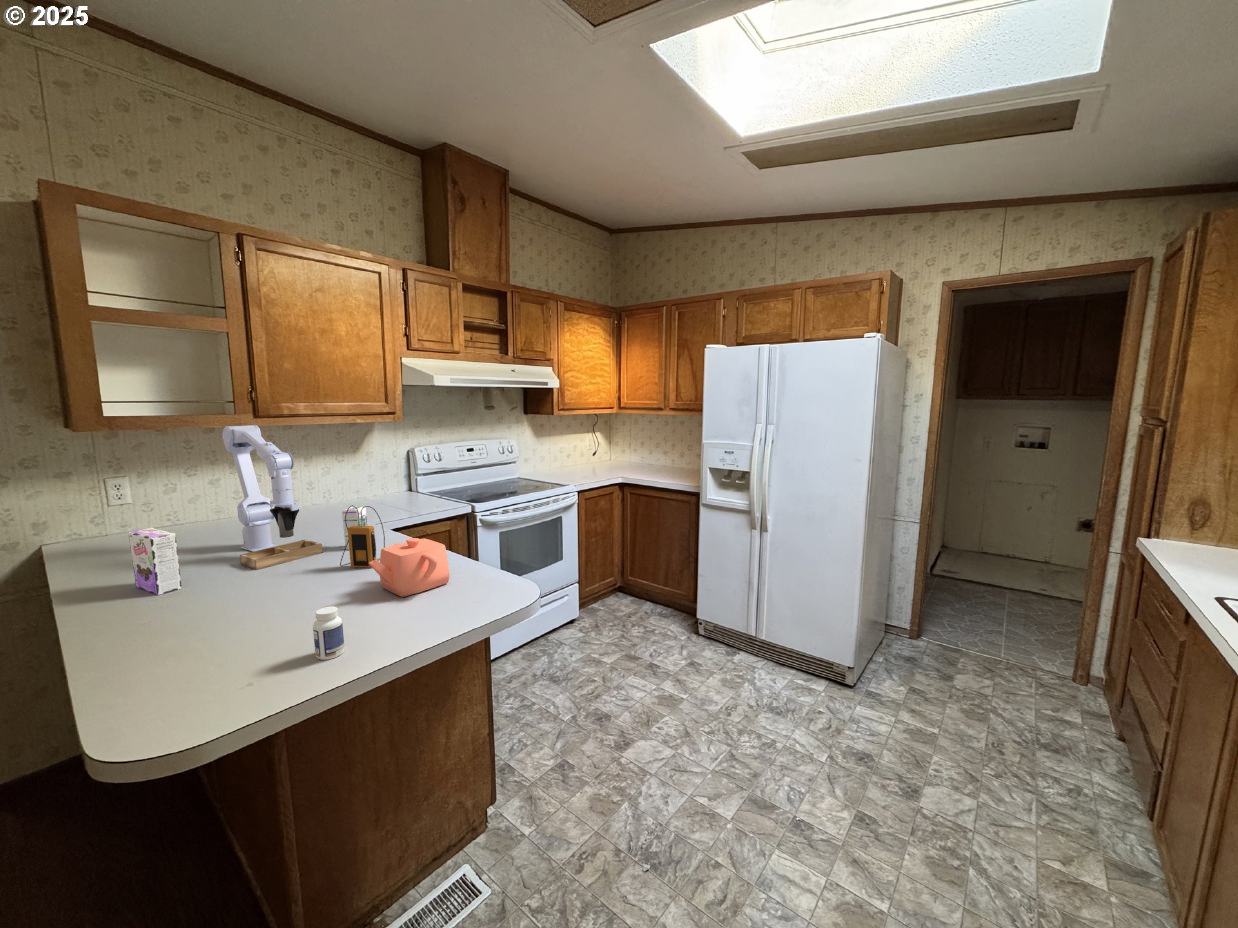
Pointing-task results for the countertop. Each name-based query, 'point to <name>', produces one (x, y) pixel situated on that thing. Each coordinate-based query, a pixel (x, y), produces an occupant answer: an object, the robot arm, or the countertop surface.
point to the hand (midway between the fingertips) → (286, 529)
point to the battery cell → (283, 528)
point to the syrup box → (353, 520)
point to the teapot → (412, 566)
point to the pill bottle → (328, 633)
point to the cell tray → (280, 554)
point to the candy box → (155, 560)
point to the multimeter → (361, 543)
